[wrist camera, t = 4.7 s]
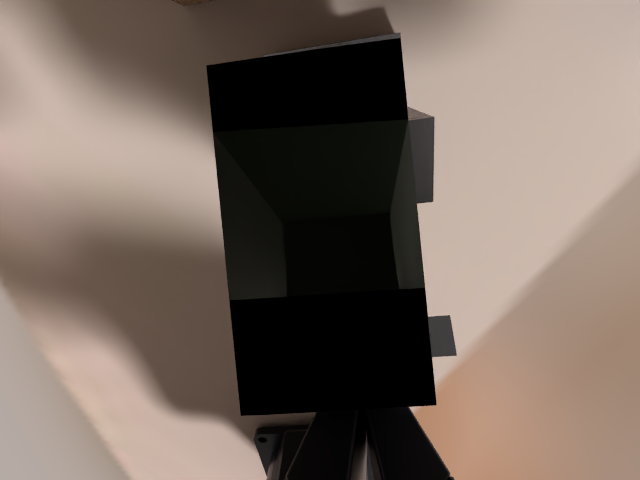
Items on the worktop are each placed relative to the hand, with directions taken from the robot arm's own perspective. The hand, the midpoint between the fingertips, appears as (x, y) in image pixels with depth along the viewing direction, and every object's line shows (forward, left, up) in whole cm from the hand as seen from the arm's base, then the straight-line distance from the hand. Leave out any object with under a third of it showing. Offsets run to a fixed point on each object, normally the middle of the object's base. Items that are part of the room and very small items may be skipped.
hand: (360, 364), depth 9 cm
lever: (+9, 0, +2) cm, 9 cm away
